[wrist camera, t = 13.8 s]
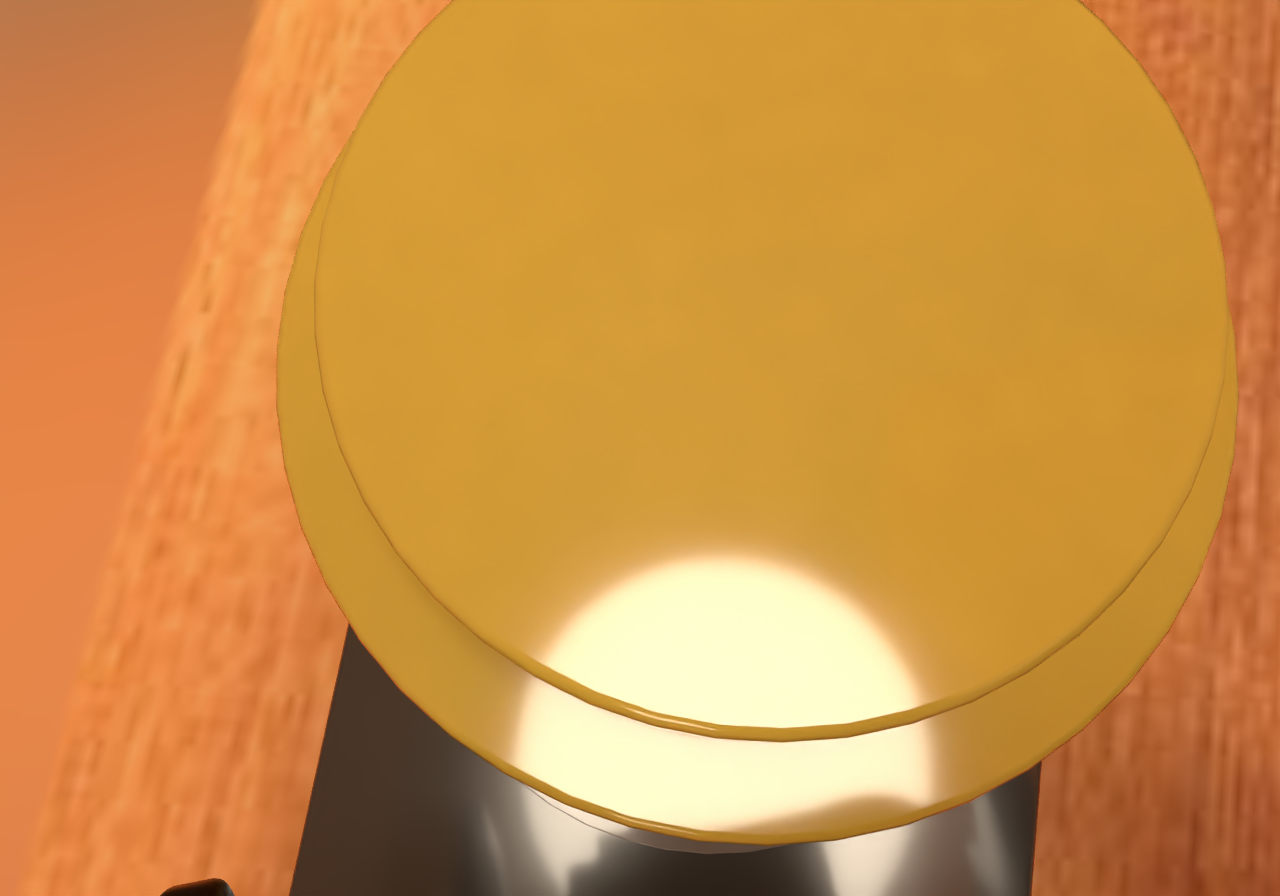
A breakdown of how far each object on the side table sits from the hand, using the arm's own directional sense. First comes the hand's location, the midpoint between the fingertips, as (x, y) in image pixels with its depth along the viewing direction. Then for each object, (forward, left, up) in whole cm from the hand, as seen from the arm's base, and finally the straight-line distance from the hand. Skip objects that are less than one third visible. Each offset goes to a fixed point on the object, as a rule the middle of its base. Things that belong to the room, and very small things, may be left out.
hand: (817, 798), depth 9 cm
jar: (+3, +2, -6) cm, 7 cm away
